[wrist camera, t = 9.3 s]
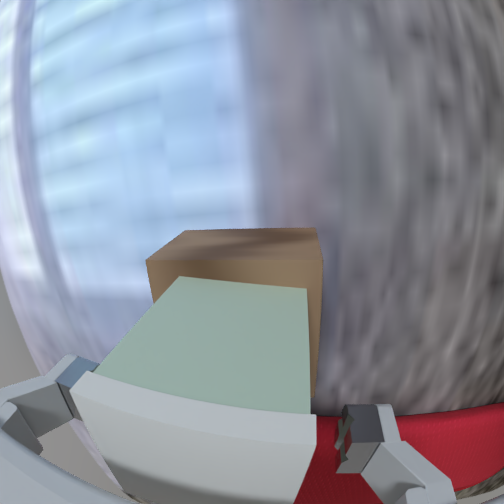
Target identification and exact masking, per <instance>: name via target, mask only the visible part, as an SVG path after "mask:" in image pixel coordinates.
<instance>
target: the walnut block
mask: <svg viewBox="0 0 504 504" xmlns="http://www.w3.org/2000/svg"><path fill="white" fill-rule="evenodd" d="M146 266H147V272H148V277H149V282H150V288H151V293H152V298H153V302H154V303H155V302H156V301H157V300H158V299H159V298H160V297H161V295H162V294H163V293H164V292H165V291H166V290H167V289H168V288H169V287H170V286H171V285H172V284H173V282H174V281H175V280H176V279H177V278H178V277H179V276H184V277H192V278H201V279H211V280H220V281H230V282H240V283H250V284H261V285H271V286H282V287H294V288H306V289H307V303H308V324H309V353H310V397H314V395H315V385H316V374H317V363H318V351H319V337H320V321H321V302H322V277H323V257H322V253H321V249H320V245H319V241H318V237H317V233H316V229H315V228H259V229H217V230H185V231H184V232H182V233H181V234H180V235H178V236H177V237H176V238H174V239H173V240H172V241H170V242H169V243H168V244H166V245H165V246H164V247H162V248H161V249H160V250H158V251H157V252H156V253H154V254H153V255H152V256H150V257H149V258H148V259H146Z"/></svg>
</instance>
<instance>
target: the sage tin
mask: <svg viewBox="0 0 504 504" xmlns="http://www.w3.org/2000/svg"><path fill="white" fill-rule="evenodd" d="M69 391H70V394H71V396H72V398H73V401H74V403H75V405H76V407H77V409H78V411H79V413H80V416H81V418H82V420H83V422H84V424H85V426H86V428H87V430H88V431H89V433H90V435H91V437H92V439H93V441H94V443H95V444H96V446H97V448H98V450H99V452H100V453H101V455H102V457H103V458H104V460H105V462H106V463H107V465H108V467H109V468H110V470H111V472H112V473H113V475H114V476H115V478H116V479H117V481H118V482H119V484H120V485H121V487H122V488H123V490H124V491H125V492H126V493H129V494H131V495H134V496H137V497H140V498H143V499H145V500H148V501H152V502H155V503H158V504H293V503H294V501H295V498H296V496H297V494H298V491H299V489H300V487H301V484H302V482H303V479H304V477H305V474H306V472H307V469H308V467H309V464H310V461H311V459H312V456H313V453H314V451H315V448H316V415H315V414H310V353H309V324H308V303H307V289H306V288H294V287H282V286H271V285H261V284H250V283H240V282H230V281H220V280H211V279H201V278H192V277H184V276H179V277H178V278H177V279H176V280H175V281H174V282H173V284H172V285H171V286H170V287H169V288H168V289H167V290H166V291H165V292H164V293H163V294H162V295H161V297H160V298H159V299H158V300H157V301H156V302H155V303H154V304H153V305H152V306H151V307H150V309H149V310H148V311H147V312H146V313H145V314H144V315H143V316H142V317H141V318H140V320H139V321H138V322H137V323H136V324H135V325H134V326H133V327H132V329H131V330H130V331H129V332H128V333H127V334H126V335H125V336H124V338H123V339H122V340H121V341H120V342H119V343H118V344H117V345H116V347H115V348H114V349H113V350H112V351H111V352H110V353H109V355H108V356H107V357H106V358H105V359H104V360H103V361H102V363H101V364H100V365H99V366H98V367H97V368H96V370H95V371H94V372H90V371H86V372H85V373H84V374H83V375H82V377H81V378H80V379H79V380H78V381H77V382H76V383H75V385H74V386H73V387H72V388H71V389H70V390H69Z"/></svg>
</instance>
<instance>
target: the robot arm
mask: <svg viewBox="0 0 504 504" xmlns="http://www.w3.org/2000/svg"><path fill="white" fill-rule="evenodd" d="M99 365H100V364H99V363H96V362H93V361H91V360H88V359H85V358H83V357H79V356H77V355H74V354H72V353H69V354H66V355H65V356H64V357H63V358H62V359H61V360H60V361H59V362H58V363H57V364H56V365H55V366H54V367H53V368H52V369H51V370H50V371H49V372H48V373H47V374H46V375H45V376H39V377H35V378H32V379H29V380H26V381H23V382H20V383H17V384H13V385H10V386H7V387H4V388H0V504H138V503H135V502H133V501H130V500H127V499H125V498H122V497H120V496H117V495H115V494H112V493H110V492H108V491H106V490H103V489H101V488H99V487H97V486H94V485H92V484H90V483H88V482H86V481H84V480H82V479H80V478H78V477H76V476H74V475H72V474H70V473H69V472H67V471H65V470H63V469H61V468H60V467H58V466H56V465H54V464H52V463H51V462H49V461H47V460H46V459H44V458H42V457H41V456H39V455H40V453H41V452H42V451H43V447H42V445H41V444H40V443H39V441H38V439H37V438H38V437H40V436H42V435H44V434H45V433H47V432H49V431H51V430H53V429H55V428H57V427H59V426H61V425H62V424H64V423H66V422H68V421H70V420H72V419H73V418H76V419H78V420H81V421H83V420H82V418H81V416H80V413H79V411H78V409H77V407H76V405H75V403H74V401H73V398H72V396H71V394H70V391H69V390H70V389H71V388H72V387H73V386H74V385H75V383H76V382H77V381H78V380H79V379H80V378H81V377H82V375H83V374H84V373H85V372H86V371H90V372H94V371H95V370H96V368H97V367H98V366H99ZM341 413H342V419H340V420H339V421H338V422H337V425H336V429H335V434H334V447H335V448H336V449H337V450H338V452H337V454H336V456H335V467H336V473H361V475H362V476H363V478H364V479H365V480H366V482H367V483H368V484H369V486H370V487H371V488H372V489H373V491H374V492H375V493H376V495H377V496H378V497H379V498H380V500H381V501H382V502H383V503H384V504H457V501H456V497H455V493H454V490H453V486H452V482H451V479H449V478H448V477H447V476H446V475H445V474H443V473H442V472H441V471H440V470H439V469H437V468H436V467H435V466H434V465H433V464H432V463H430V462H429V461H428V460H427V459H426V458H425V457H423V456H422V455H421V454H420V453H419V452H418V451H416V450H415V449H414V448H413V447H412V446H411V445H409V444H408V443H407V442H406V441H401V438H400V434H399V431H398V427H397V423H396V420H395V416H394V413H393V409H392V406H391V405H390V404H375V405H374V404H359V405H349V404H345V406H344V407H343V409H342V412H341ZM481 504H504V494H503V495H500V496H498V497H495V498H493V499H491V500H488V501H486V502H483V503H481Z"/></svg>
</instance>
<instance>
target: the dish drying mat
mask: <svg viewBox="0 0 504 504" xmlns="http://www.w3.org/2000/svg"><path fill="white" fill-rule="evenodd" d="M340 419H342V417H328V416H316V448H315V451H314V453H313V456H312V459H311V461H310V464H309V467H308V469H307V472H306V474H305V477H304V479H303V482H302V484H301V487H300V489H299V491H298V494H297V496H296V498H295V501H294V503H293V504H384V503H383V502H382V501H381V500H380V498H379V497H378V496H377V495H376V493H375V492H374V491H373V489H372V488H371V487H370V486H369V484H368V483H367V482H366V480H365V479H364V478H363V476H362V475H361V473H336V467H335V456H336V454H337V452H338V450H337V449H336V448H335V447H334V434H335V429H336V425H337V422H338V421H339V420H340ZM395 420H396V423H397V427H398V431H399V434H400V438H401V441H406V442H407V443H408V444H409V445H411V446H412V447H413V448H414V449H415V450H416V451H418V452H419V453H420V454H421V455H422V456H423V457H425V458H426V459H427V460H428V461H429V462H430V463H432V464H433V465H434V466H435V467H436V468H437V469H439V470H440V471H441V472H442V473H443V474H445V475H446V476H447V477H448V478H449V479H451V482H452V486H453V490H454V492H455V491H460V490H463V489H466V488H469V487H471V486H474V485H476V484H478V483H480V482H482V481H484V480H486V479H488V478H489V477H491V476H493V475H494V474H496V473H497V472H498V471H500V470H501V469H502V468H503V467H504V402H501V403H496V404H491V405H485V406H480V407H475V408H469V409H462V410H454V411H447V412H438V413H428V414H418V415H408V416H395Z"/></svg>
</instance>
